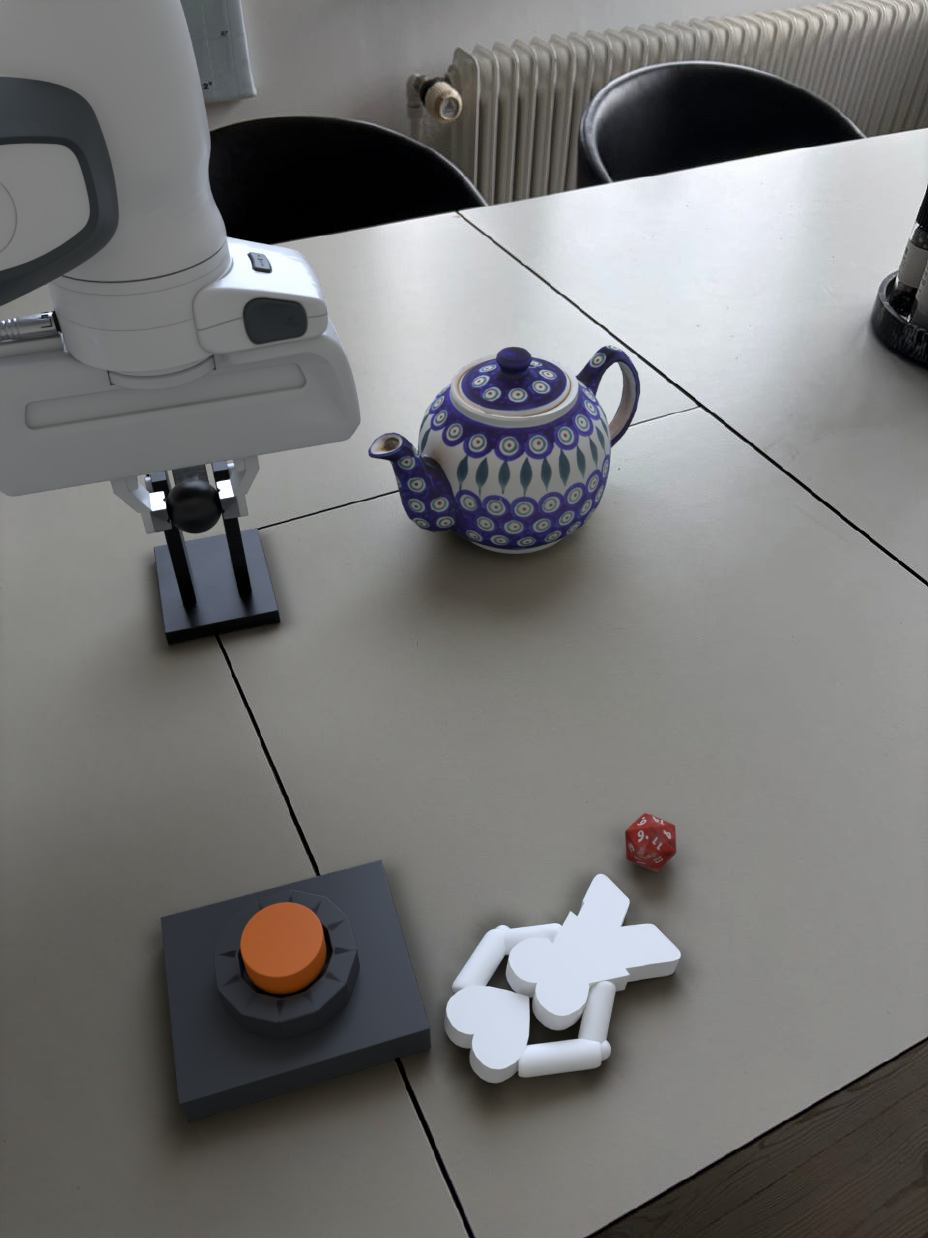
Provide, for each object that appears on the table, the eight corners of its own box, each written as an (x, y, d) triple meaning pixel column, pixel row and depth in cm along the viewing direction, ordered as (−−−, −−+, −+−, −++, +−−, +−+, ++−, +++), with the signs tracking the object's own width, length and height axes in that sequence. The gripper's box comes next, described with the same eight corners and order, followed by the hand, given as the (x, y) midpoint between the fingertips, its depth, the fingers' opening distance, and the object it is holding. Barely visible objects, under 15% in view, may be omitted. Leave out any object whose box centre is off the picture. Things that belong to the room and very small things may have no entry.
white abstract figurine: (410, 987, 52) (413, 964, 50) (581, 879, 58) (587, 856, 57) (519, 1132, 47) (524, 1111, 45) (693, 997, 53) (703, 975, 51)
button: (251, 1005, 48) (246, 987, 47) (240, 932, 51) (234, 914, 50) (333, 981, 49) (330, 964, 48) (317, 911, 52) (314, 893, 50)
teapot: (578, 428, 91) (592, 271, 81) (688, 513, 82) (719, 347, 72) (331, 518, 82) (312, 352, 71) (424, 625, 72) (418, 453, 62)
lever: (228, 533, 59) (217, 479, 58) (172, 543, 58) (160, 489, 57) (219, 494, 71) (209, 449, 70) (172, 503, 70) (162, 457, 69)
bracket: (280, 622, 73) (257, 489, 65) (168, 645, 71) (129, 511, 63) (259, 539, 80) (236, 410, 72) (156, 558, 78) (120, 428, 70)
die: (680, 847, 59) (688, 817, 57) (662, 888, 57) (669, 858, 55) (633, 827, 60) (639, 797, 58) (613, 866, 58) (619, 836, 56)
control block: (187, 1123, 48) (170, 1088, 45) (168, 938, 55) (153, 898, 52) (431, 1048, 50) (429, 1011, 47) (383, 881, 57) (379, 840, 54)
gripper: (-80, 360, 46) (13, 586, 55) (357, 299, 50) (374, 519, 60) (-70, 300, 50) (15, 519, 60) (331, 249, 55) (351, 461, 64)
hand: (197, 519), depth 60 cm, fingers closed on lever, 3 cm apart
